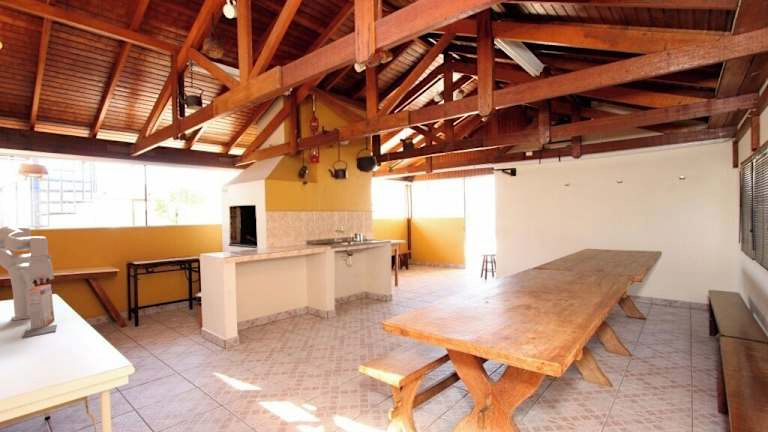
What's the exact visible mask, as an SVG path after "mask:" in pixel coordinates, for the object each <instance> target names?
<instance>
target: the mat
mask: <svg viewBox="0 0 768 432" xmlns="http://www.w3.org/2000/svg"><path fill="white" fill-rule="evenodd" d="M57 325H58V324H51V325H47V326H46V327H40V328H35V329H31V328H30V329H26V330H24V333H23V334H22V336H21V339H25V338H26V339H27V338H32V337H36V336H41V335H47V334H51V333H56V330H57Z"/></svg>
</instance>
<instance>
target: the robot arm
mask: <svg viewBox="0 0 768 432" xmlns="http://www.w3.org/2000/svg"><path fill="white" fill-rule="evenodd" d="M31 235H32V231H31V228H30V227H28V226H27V225H11V226H10V225H9V226H3V227H0V266H1V267H2V268H3V269H5V270H7V271H8V276H9V278H10V283H11V288H12V289H11V290H12V297H13V298H12V300H13V309H14V316H11V318H10V320H11V321H20V320H27V319H30V313H29V304H28V294H27V291H28V290H30V289H32V288H34V287H36V286H35V284H36V285H37V286H39V285H47V284H46V283H47V282H49V281H51V280H54V279H55V275H54V267H53V264H52V263H53V262H52V260H51V259H52V258H53V255H50V254H49V245H48V238H47V237H45V236H40V235H39V236H31ZM24 251H29V253H23V254H16V253H15V252H24ZM41 279H43V280H42V282H41ZM34 283H35V284H34Z"/></svg>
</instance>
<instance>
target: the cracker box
mask: <svg viewBox="0 0 768 432" xmlns="http://www.w3.org/2000/svg"><path fill="white" fill-rule="evenodd" d="M27 294H28V304H29V313H30V318H29V319H30V321H29V322H30V329H35V328H40V327H46V326H49V325H50V324H51V323H53V322H54V321H55V312H54V301H53V291H52V284H51V283H49V284H46V285H39V286H38V285H37V286H35V287H34V288H32V289H30V290H28V291H27Z"/></svg>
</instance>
